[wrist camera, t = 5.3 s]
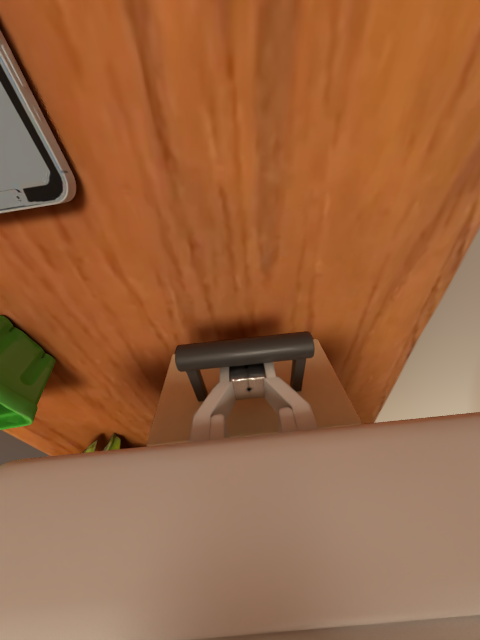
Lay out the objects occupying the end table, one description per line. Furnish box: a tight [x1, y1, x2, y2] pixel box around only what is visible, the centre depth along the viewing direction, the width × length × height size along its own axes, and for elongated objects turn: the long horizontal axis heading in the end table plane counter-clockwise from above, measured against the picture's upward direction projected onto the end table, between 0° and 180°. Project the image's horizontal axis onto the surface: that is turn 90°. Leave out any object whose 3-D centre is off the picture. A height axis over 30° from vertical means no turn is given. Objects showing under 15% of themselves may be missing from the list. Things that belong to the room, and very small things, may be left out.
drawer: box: [147, 332, 362, 446], centre depth 16 cm, size 18×12×7 cm, turn 5°
